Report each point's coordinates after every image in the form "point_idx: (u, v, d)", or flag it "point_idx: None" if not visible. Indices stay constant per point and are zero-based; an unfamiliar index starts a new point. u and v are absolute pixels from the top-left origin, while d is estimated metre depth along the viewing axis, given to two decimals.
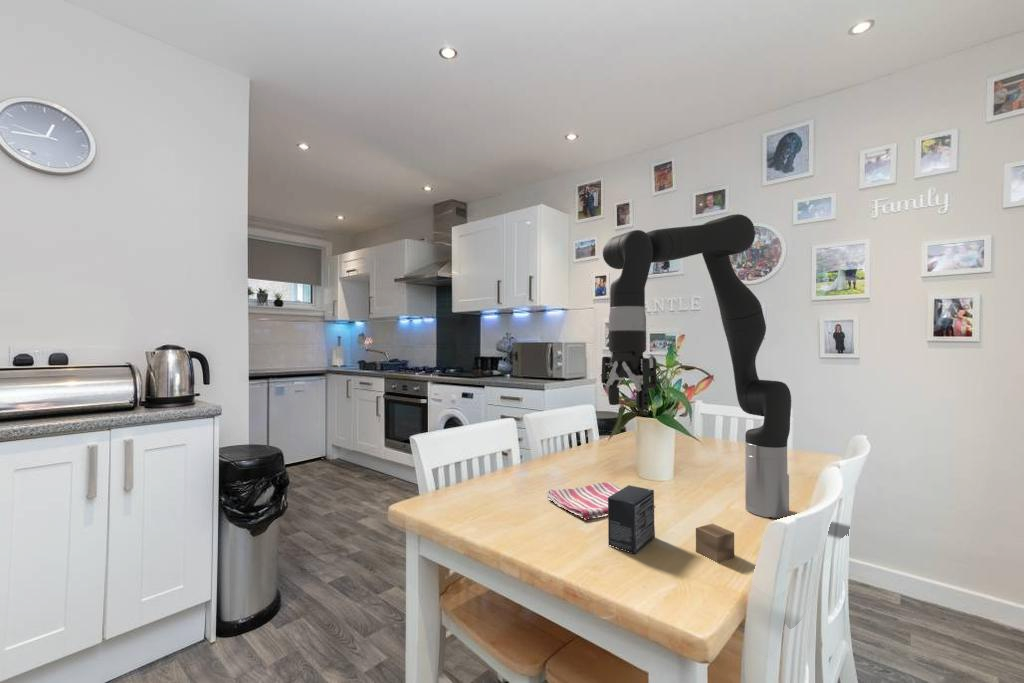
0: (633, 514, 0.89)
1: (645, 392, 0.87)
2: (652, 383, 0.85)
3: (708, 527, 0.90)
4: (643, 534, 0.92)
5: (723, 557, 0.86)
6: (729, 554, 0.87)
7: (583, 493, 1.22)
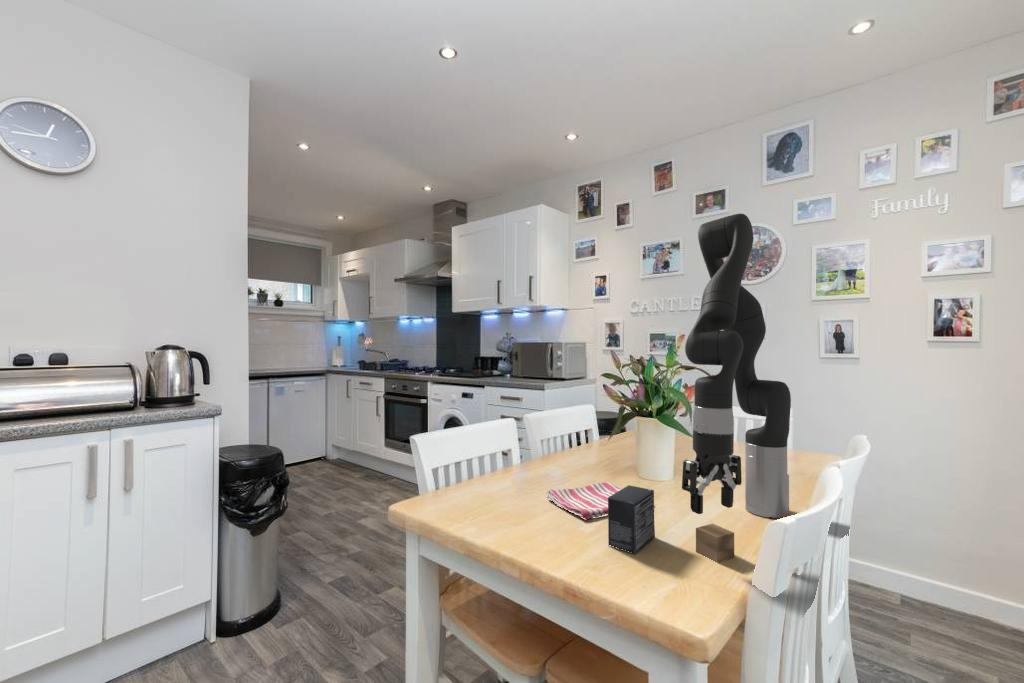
0: (633, 514, 0.89)
1: None
2: None
3: (708, 527, 0.90)
4: (643, 534, 0.92)
5: (723, 557, 0.86)
6: (729, 554, 0.87)
7: (582, 493, 1.22)
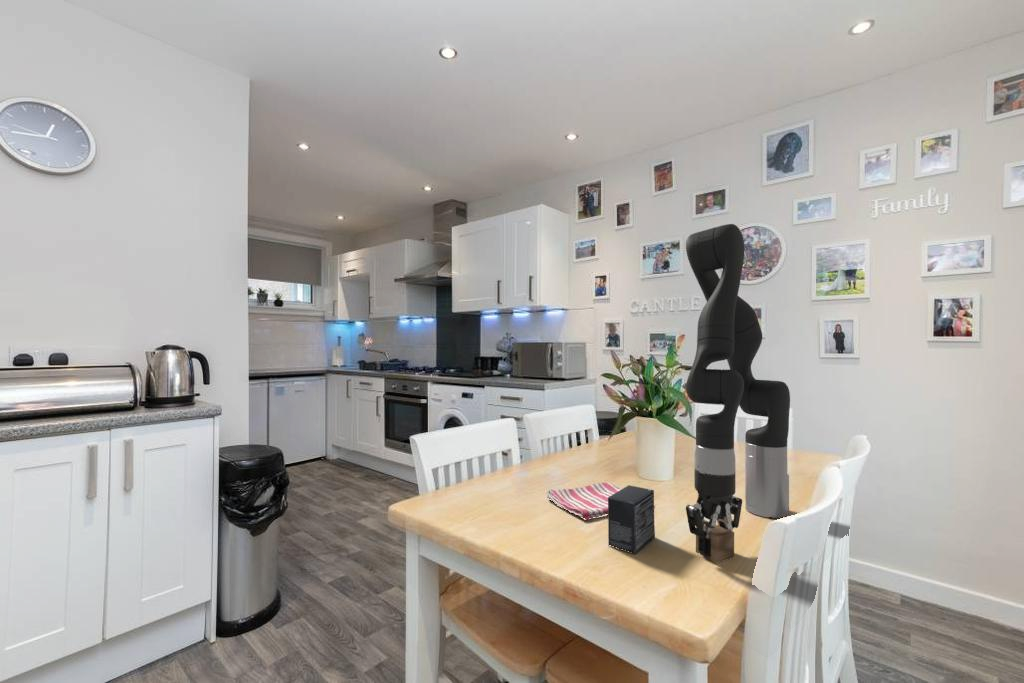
0: (633, 514, 0.89)
1: None
2: None
3: None
4: (643, 534, 0.92)
5: (723, 556, 0.86)
6: (729, 554, 0.87)
7: (582, 493, 1.22)
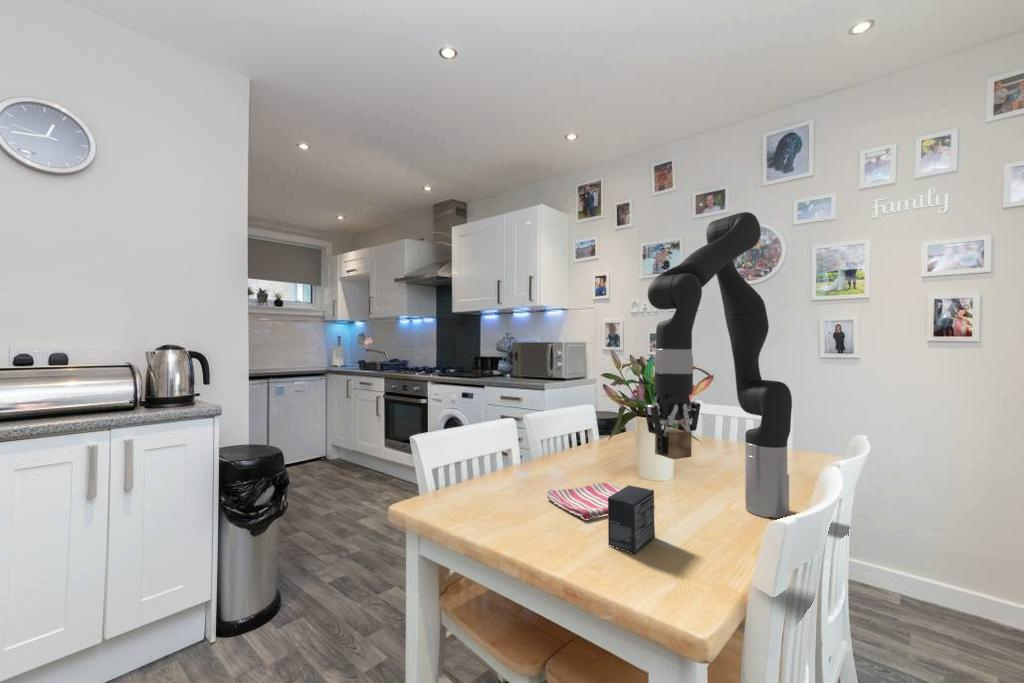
0: (633, 514, 0.89)
1: None
2: None
3: None
4: (643, 534, 0.92)
5: (680, 454, 0.89)
6: (686, 452, 0.89)
7: (582, 493, 1.22)
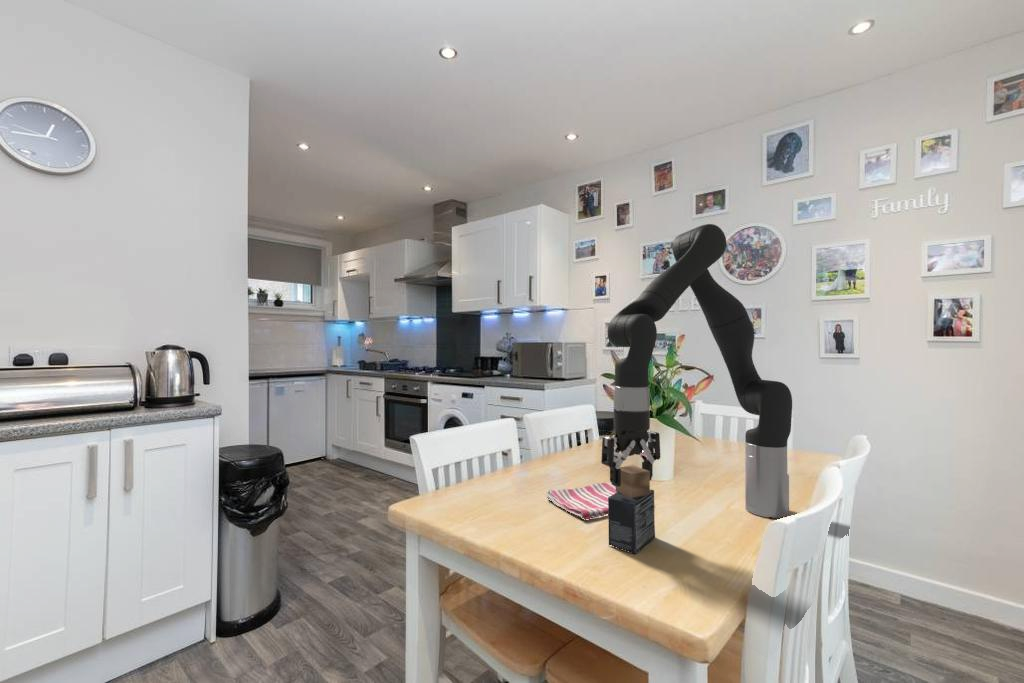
0: (633, 514, 0.89)
1: None
2: None
3: (627, 467, 0.96)
4: (643, 534, 0.91)
5: (638, 493, 0.92)
6: (644, 491, 0.93)
7: (582, 493, 1.22)
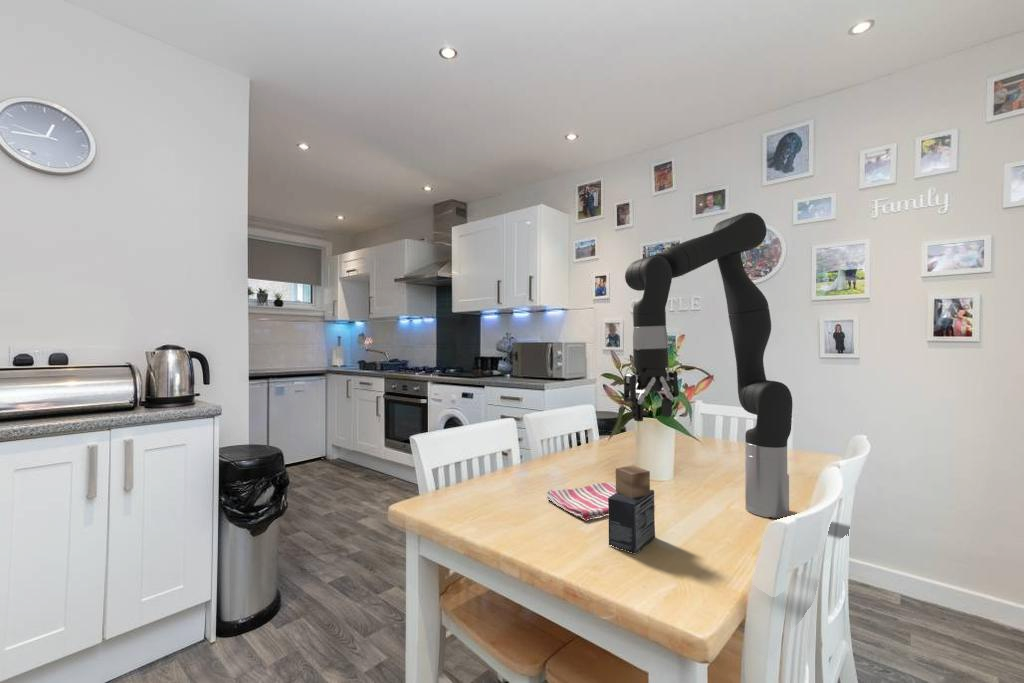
0: (633, 514, 0.89)
1: None
2: None
3: (627, 468, 0.96)
4: (643, 535, 0.91)
5: (638, 493, 0.92)
6: (644, 491, 0.93)
7: (582, 493, 1.22)
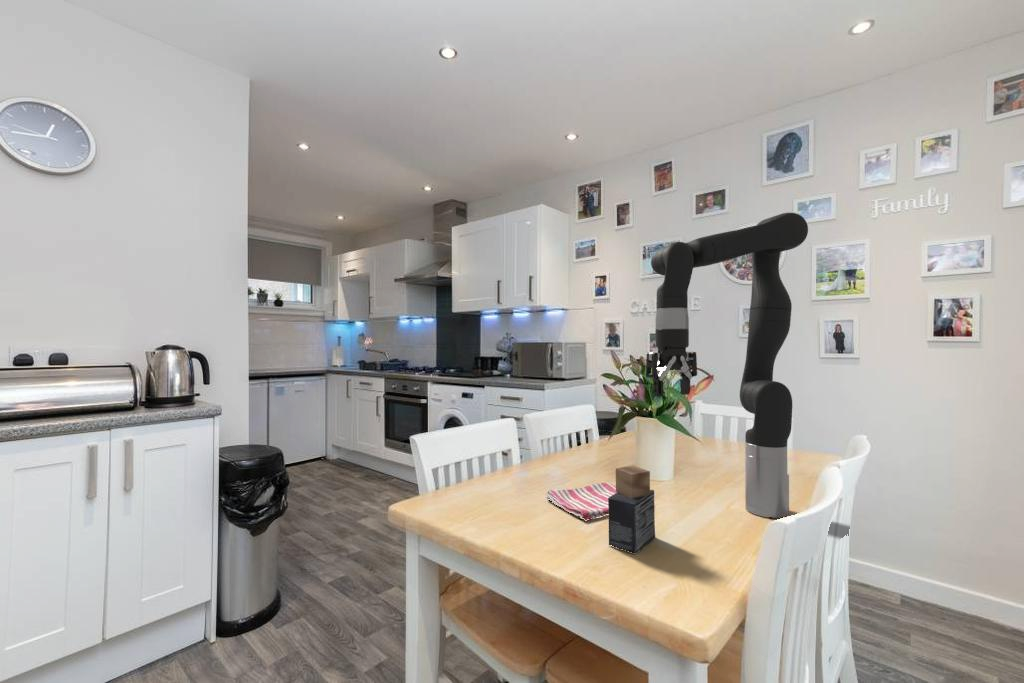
0: (633, 514, 0.89)
1: None
2: None
3: (627, 468, 0.96)
4: (643, 535, 0.91)
5: (639, 493, 0.92)
6: (644, 491, 0.93)
7: (582, 494, 1.22)
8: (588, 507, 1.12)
